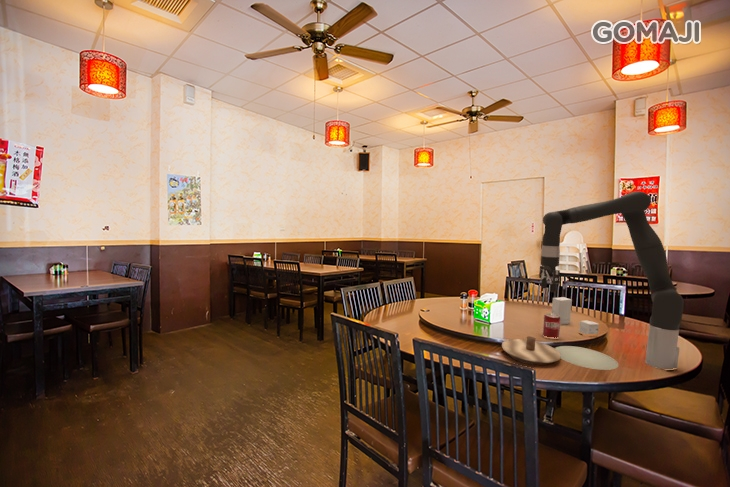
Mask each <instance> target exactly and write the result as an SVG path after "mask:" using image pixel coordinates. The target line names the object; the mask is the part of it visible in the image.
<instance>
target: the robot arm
mask: <svg viewBox="0 0 730 487" xmlns="http://www.w3.org/2000/svg"><path fill="white" fill-rule="evenodd" d="M651 204H652V198H651V197H650V195H649V194H647V193H646V192H643V191H637V190H636V191H632V192H631V191H630V192H628V193H627V194H624V195H622V196H621V197H617V198H614V199H609V200H605V201H600V202H595V203H589V204H585V205H583V204H582V205H580V206H575V207H570V208H568V209H561V210H556V211H550V212H548V213H545V214H544V216H543V217H542V223H543V225H544V233H543V235H542V242H541V243H542V246H541V250H540V266H539V274H538V277H539V279H540V280H541V284H540V287H541V289H547V285H548V280H549V282H550V285H549V292H550V293H557V285H559V284H560V277H561V275H560V274H561V270H559V269H556V267H560V254H561V247H560V246H561V245H560V244H561V232H562V227H563V225H567V224H577V223H583V222H586V221H587V222H588V221H591V220H596V219H600V218H603V217H607V216H611V215H617V214H621V215H622V217H623V219H624V221H625V224H626V226H627V229H628V231H629V232H628V233H629V236H630V238H631V239H630V240H631V241H632V244H633V247H634V248H633V249H634V251H635V254H636V257H637V260H638V262H639V265H640V267H641V269H642V271H643V273H644V275H645V276H646V279H647V282H648V286H649V291H650V298H651V301H652V309H651V316H650V318H649V325H648V326H649V328H648V335H647V344H646V352H645V364H647V365H648V366H650V367H653V368H655V367H657V368H656V369H658V368H663V369H673V368H677V369H678V365H679V364H678V363H679V358H680V357H679V355H680V347H679V346H678V340H679V334H680V332H679V331H680V327H681V326H680V325H681V323H682V320H683V312H684V304H685V302H684V298H683V296H682V295H681V294H680V293H679V292H678V291H677V289H676V287H675V285H674V283H673V281H672V279H671V276H670V273H669V265H668V258H667V254H666V250H665V248H664V245H663V242H662V240H661V238H660V237H659V236H658V233H657V232H656V231H655V230H654V228H652V226H651V225H650V223H649V221H648V218H647V216H646V215H647V214H646V212H645V211H646V210H648V209H649V207H650V206H651Z"/></svg>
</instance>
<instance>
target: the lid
mask: <svg viewBox="0 0 730 487" xmlns="http://www.w3.org/2000/svg"><path fill="white" fill-rule="evenodd" d="M501 348H502V349H503V351H504V352H506V353H507V354H508V353H509V354H511V355H513V356H515V357H518V358H521V359H524V360H528V361H533V362H542V363H549V362H552V363H555V362H557V361H560V353H559V351H557V350H556V349H555V348H556V347H552V346H550V345H549V344H546V343H544V342H539V341H536V338H535V337H533V336H526V339H524V338H523V339H522V338H512V339H506V340H504V341H502V343H501ZM509 354H508V355H509Z"/></svg>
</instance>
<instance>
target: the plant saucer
mask: <svg viewBox="0 0 730 487" xmlns="http://www.w3.org/2000/svg"><path fill="white" fill-rule="evenodd" d="M507 354H508V355H509V356H510V357H511V358H512V359H514V360H515V361H517V362H519V363H523V364H527V365H540V366H544V365H550V364H552V363H553V362H549V363H542V362H533V361H528V360H524V359H521V358H518V357H515V356H513V355H511V354H509V353H507Z"/></svg>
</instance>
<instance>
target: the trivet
mask: <svg viewBox="0 0 730 487" xmlns="http://www.w3.org/2000/svg"><path fill="white" fill-rule="evenodd" d="M554 348H555V349H556V350H557V351H559V353H560V359H561V360H563V361H565V362H567V363H569V364H572V365H575V366H578V367H582V368H587V369H591V370H592V369H593V370H600V371H609V370H610V371H611V370H615V369H617V368H618V367H619V363H618V361H617V360H616V359H614V358H613V357H611V356H610V355H607V354H605V353H602V352H600V351H598V350H594V349H590V348H586V347H582V346H581V347H580V346H572V345H560V346H556V347H554ZM560 359H559V360H560Z"/></svg>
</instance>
